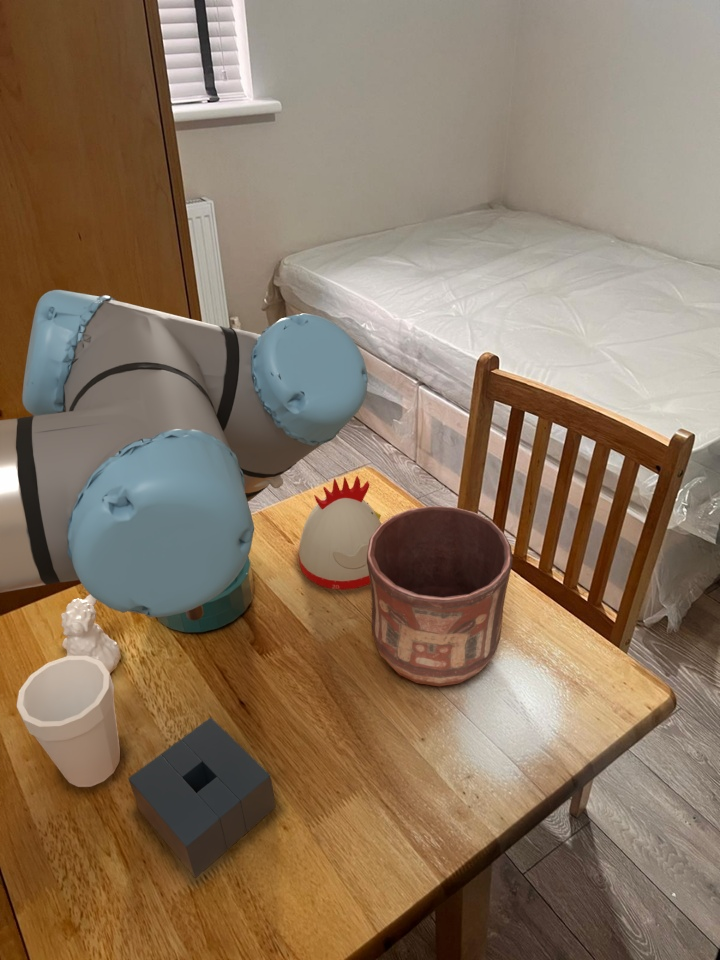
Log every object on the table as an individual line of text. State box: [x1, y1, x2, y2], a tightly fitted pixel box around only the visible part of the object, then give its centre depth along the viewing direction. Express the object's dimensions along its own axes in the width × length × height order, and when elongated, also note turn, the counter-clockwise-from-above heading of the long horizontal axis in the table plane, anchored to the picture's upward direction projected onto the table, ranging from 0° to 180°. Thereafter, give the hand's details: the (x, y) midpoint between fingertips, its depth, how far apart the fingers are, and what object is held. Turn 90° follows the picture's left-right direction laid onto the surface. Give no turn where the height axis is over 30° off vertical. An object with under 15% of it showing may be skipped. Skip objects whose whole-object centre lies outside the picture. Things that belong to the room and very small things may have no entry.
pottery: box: [367, 505, 514, 687], centre depth 92 cm, size 18×18×18 cm
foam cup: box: [16, 655, 121, 788], centre depth 81 cm, size 10×9×13 cm
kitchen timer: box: [298, 475, 382, 591], centre depth 109 cm, size 14×14×15 cm
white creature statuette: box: [60, 593, 122, 674], centre depth 93 cm, size 10×9×12 cm
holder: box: [128, 717, 276, 879], centre depth 78 cm, size 11×11×6 cm
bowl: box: [155, 555, 255, 633], centre depth 105 cm, size 15×15×6 cm
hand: (158, 526), depth 76 cm, fingers closed on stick, 2 cm apart
